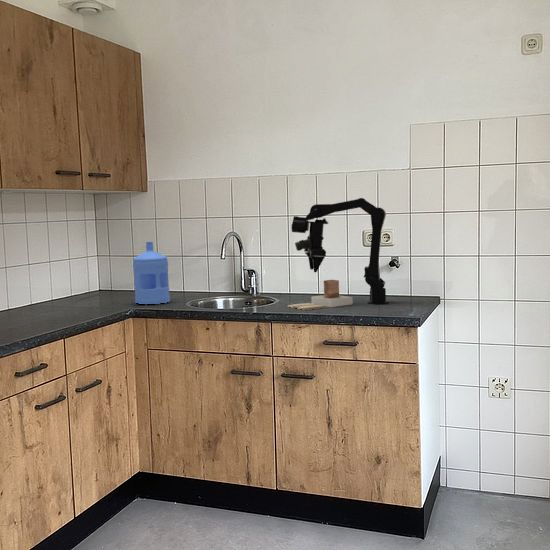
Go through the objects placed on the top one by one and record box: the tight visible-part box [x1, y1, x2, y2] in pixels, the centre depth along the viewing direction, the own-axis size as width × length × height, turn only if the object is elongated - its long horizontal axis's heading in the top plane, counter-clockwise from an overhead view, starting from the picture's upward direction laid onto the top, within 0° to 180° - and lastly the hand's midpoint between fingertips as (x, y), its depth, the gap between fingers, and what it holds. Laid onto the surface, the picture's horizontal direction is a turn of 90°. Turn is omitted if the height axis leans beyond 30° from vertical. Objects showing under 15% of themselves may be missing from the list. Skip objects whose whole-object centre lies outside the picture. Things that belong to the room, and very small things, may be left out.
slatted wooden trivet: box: [287, 302, 327, 311], centre depth 272 cm, size 13×10×1 cm
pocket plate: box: [310, 294, 354, 308], centre depth 278 cm, size 14×11×3 cm
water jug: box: [132, 241, 171, 305], centre depth 302 cm, size 16×16×28 cm
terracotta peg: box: [323, 279, 340, 298], centre depth 278 cm, size 4×4×10 cm
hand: (313, 270), depth 281 cm, fingers open, 9 cm apart
